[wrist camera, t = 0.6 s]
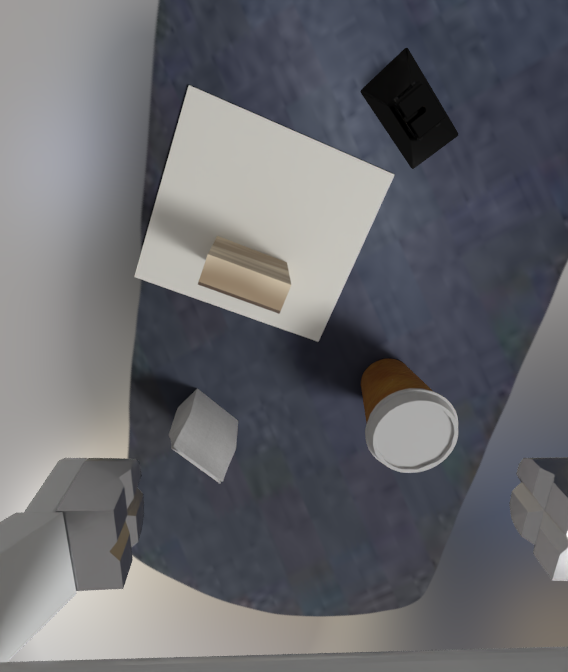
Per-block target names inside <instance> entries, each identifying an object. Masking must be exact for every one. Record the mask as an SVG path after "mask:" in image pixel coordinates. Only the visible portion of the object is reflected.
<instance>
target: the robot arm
mask: <svg viewBox="0 0 568 672" xmlns="http://www.w3.org/2000/svg"><path fill="white" fill-rule="evenodd" d="M141 476H142V475H141V468H140V462H139V461H138V459H114V458H113V459H112V458H109V459H108V458H89V459H87V458H64V459H62V460H59V461H58V463H57V464H56V466H55V467H54V469H53V470H52V472H51V473H50V475H49V476H48V478H47V479H46V480H45V482H44V483H43V485H42V486H41V488H40V490H39V491H38V493H37V494H36V496H35V497H34V498H33V500H32V501H31V503H30V504H29V506H28V507H27V509H26V510H25V512H24V513H15V514H13V515H11V516H10V517H8V518H6V519H4V520H3V521H1V522H0V672H568V647H537V648H499V649H461V650H425V651H391V652H390V651H389V652H355V653H318V654H287V655H286V654H283V655H247V656H212V657H174V658H138V659H102V660H66V661H29V662H8V661H9V660H10V659H11V658H12V657H13V656H14V655H15V654H16V653H17V652H18V651H19V650H20V649H21V648H22V647H23V646H24V645H25V644H26V643H27V642H28V641H29V640H30V639H31V638H32V637H33V636H34V635H35V634H36V633H37V632H38V631H39V630H40V629H41V628H42V627H43V626H44V625H45V624H46V623H47V622H48V621H49V620H50V619H51V618H52V617H53V616H54V615H55V614H56V613H57V612H58V611H59V610H60V609H61V608H62V607H63V606H64V605H65V604H66V603H67V602H68V601H69V600H70V599H71V598H72V597H74V596H75V594H76V591H84V590H105V589H123V587H124V584H125V581H126V578H127V575H128V572H129V569H130V566H131V563H132V550H131V547H132V546H134V545H135V544H136V543H137V542H138V541H139V537H140V534H141V531H142V525H143V518H144V497H143V493H142V492H141V491H140V490H139V489H138V488H137V487H138V485H139V482H140V479H141ZM517 476H518V478H519V479H520V481H521V483H520V484H519V485H518V486H517V487H516V488H515V489H514V490H513V491H512V494H511V499H510V512H511V518H512V520H513V523H514V526H515V528H516V529H517V531H518V532H519V534H520V535H521V536H522V537H523V538H525V539H526V540H528V541H529V542H531V543H532V544H534V551H533V554H534V555H535V557H536V558H537V560H538V561H539V563H540V564H541V565H542V567H543V568H544V570H545V571H546V573H547V574H548V575H549V577H550V578H551V580H556V581H558V580H559V581H568V457H567V458H566V457H564V458H523V460H522V461H521V462H520V464H519V467H518V471H517Z"/></svg>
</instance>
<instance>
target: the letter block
mask: <svg viewBox="0 0 568 672" xmlns="http://www.w3.org/2000/svg"><path fill="white" fill-rule="evenodd" d="M198 285H200V286H203V287H206V288H209V289H211V290H214V291H217V292H220V293H223V294H225V295H228V296H231V297H234V298H237V299H239V300H242V301H245V302H248V303H250V304H253V305H256V306H259V307H262V308H264V309H267V310H270V311H273V312H276V313H278V314H280V311H281V309H282V307H283V304H284V302H285V299H286V297H287V295H288V292H289V290H290V287H291V281H290V276H289V271H288V266H287V262H285V261H282V260H280V259H277V258H274V257H272V256H269V255H266V254H264V253H261V252H259V251H256V250H253V249H251V248H248V247H245V246H243V245H240V244H238V243H235V242H232V241H230V240H227V239H224V238H222V237H219V236H217V237H216V239H215V241H214V243H213V245H212V247H211V249H210V251H209V253H208V255H207V258H206V261H205V264H204V267H203V270H202V273H201V276H200V279H199V282H198Z"/></svg>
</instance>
